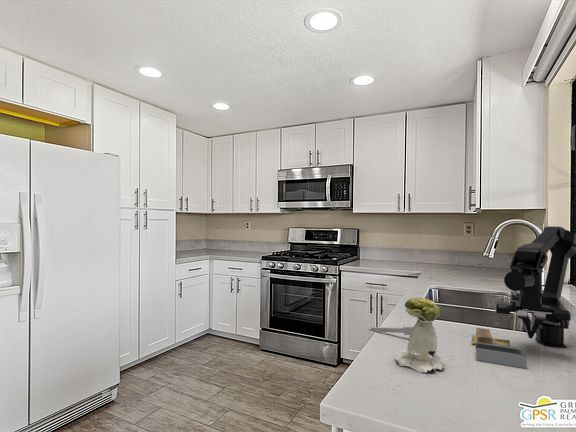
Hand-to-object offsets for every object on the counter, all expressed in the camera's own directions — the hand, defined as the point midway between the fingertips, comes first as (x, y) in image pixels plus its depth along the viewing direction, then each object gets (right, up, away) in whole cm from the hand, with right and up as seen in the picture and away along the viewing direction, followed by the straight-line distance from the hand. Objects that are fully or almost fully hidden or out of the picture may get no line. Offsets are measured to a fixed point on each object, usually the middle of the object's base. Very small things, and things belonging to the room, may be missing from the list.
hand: (530, 338), depth 107 cm
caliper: (-38, -5, +13) cm, 40 cm away
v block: (-14, -4, -7) cm, 16 cm away
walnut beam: (-11, -4, +5) cm, 13 cm away
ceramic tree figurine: (-38, -4, -10) cm, 40 cm away
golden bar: (-10, -5, +5) cm, 12 cm away
